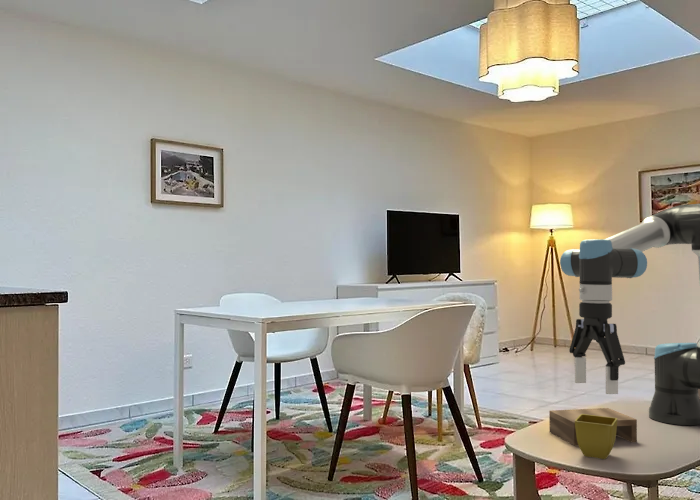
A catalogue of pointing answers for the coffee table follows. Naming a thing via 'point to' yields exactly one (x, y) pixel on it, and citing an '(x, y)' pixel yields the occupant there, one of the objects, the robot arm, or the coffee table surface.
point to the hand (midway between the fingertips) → (595, 388)
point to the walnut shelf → (565, 419)
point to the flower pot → (595, 435)
